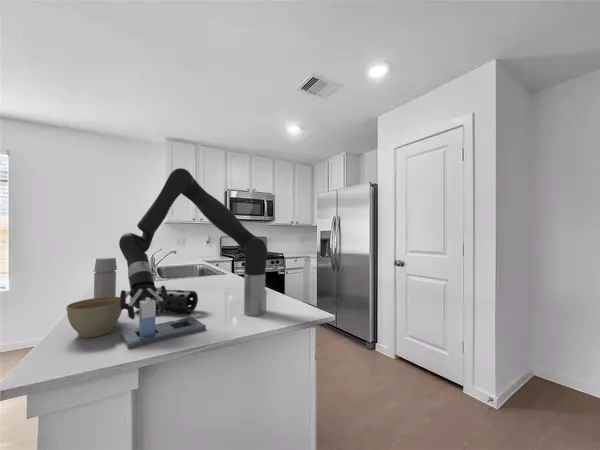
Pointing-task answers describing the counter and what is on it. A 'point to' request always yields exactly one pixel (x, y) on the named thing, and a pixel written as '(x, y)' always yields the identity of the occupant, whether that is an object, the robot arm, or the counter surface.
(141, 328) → the plug
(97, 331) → the planter bowl
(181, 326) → the panel
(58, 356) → the counter surface
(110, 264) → the water bottle
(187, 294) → the muzzle brake
